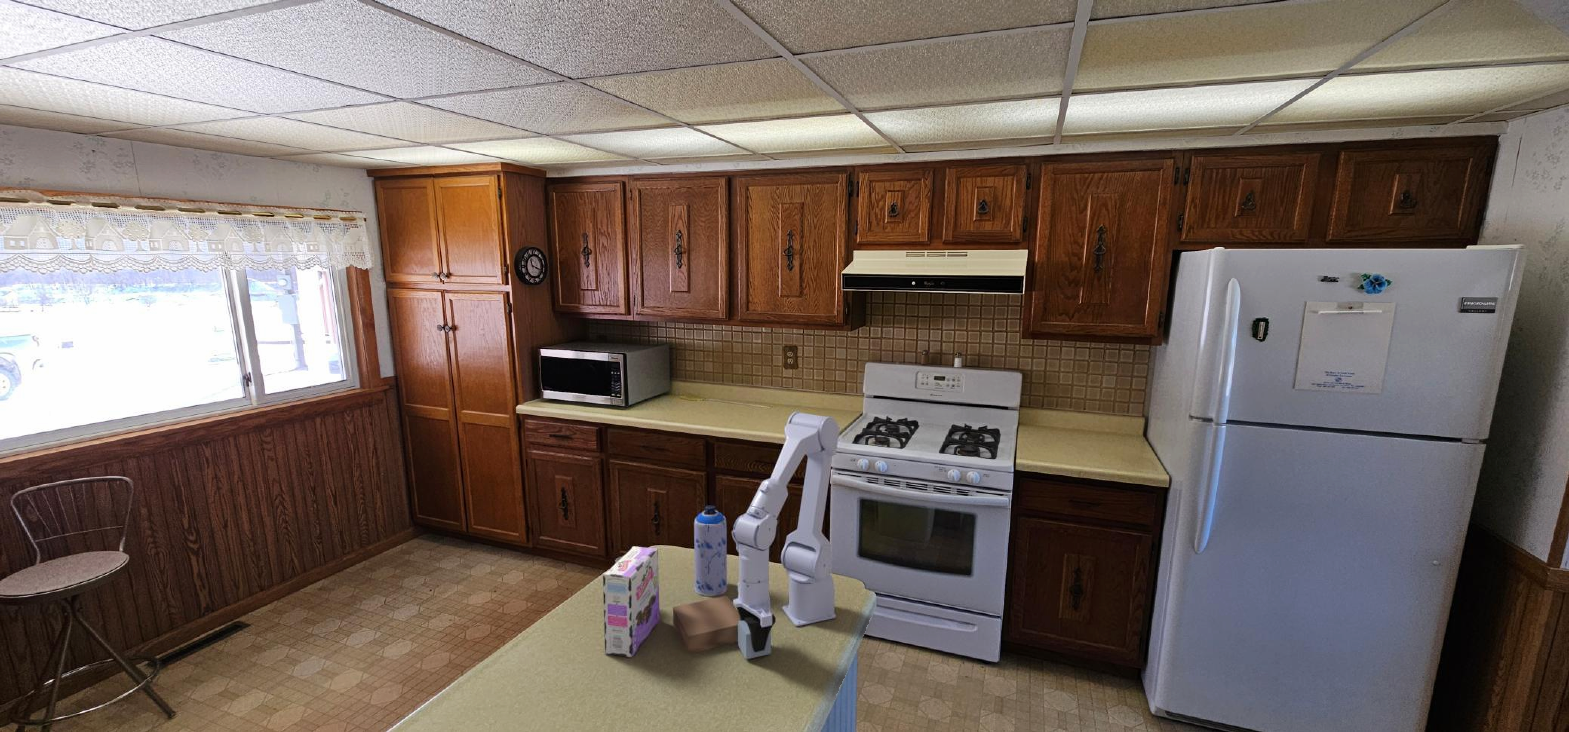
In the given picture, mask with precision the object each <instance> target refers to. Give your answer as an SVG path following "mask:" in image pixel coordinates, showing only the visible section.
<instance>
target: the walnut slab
mask: <svg viewBox="0 0 1569 732" xmlns="http://www.w3.org/2000/svg"><path fill="white" fill-rule="evenodd" d="M738 621H741V619H740V616H739V613H738V610H737V608H736V607H735V605H734V604H733V602H732V600H730V597H728V595H725V596H720V597H715V598H709V599H706V600H701V601H696V602H691V603H687V604H681V605H676V606H672V624H673V625H674V627H675V630H676V631H677V634H678V635H679V638H680V640H681V642H682V643H683V646H684V648H685V650H686V652H687V654H688V655H689V654H693V653H697V652H701V651H706V650H710V649H713V648H718V647H721V646H722V647H723V646H726V645H730V644H734V643H738Z"/></svg>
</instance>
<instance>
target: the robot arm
mask: <svg viewBox="0 0 1569 732" xmlns="http://www.w3.org/2000/svg"><path fill="white" fill-rule="evenodd" d="M839 435H840V426H839V425H838V422H837V420H836V419H835V417H833V416H824V415H819V414H811V413H804V412H800V411H794V412H793V413H791V414H790V416H789V417H788V419H787V422H786V425H785V426H784V437H785V441H784V444H783V447H782V449H781V451H780V453H779V456H778V459H777V461H776V463H775V467H774V469H773V471H772V473H771V475H770V478H767V479H764V480H763V481H761V483H760V485H759V487H758V489H757V491H756V493H755V495H754V497H753V499H752V501H751V503H750V505H749V507H748V508H747V510H746V513H744V514H741V515H740V516H738V517H737V519H736V520H735V522H734V524H733V530H732V531H731V536H732V539H733V542H735V547H736V551H737V552H738V582H737V592H738V595H737V598H734V599H733V602H732V604H733V605H734V606H735V608H736V609H737V611H738V613H739V616H740V619H741V621H742V620H745V621H746V623H747V625H748V627H749V630H750V634H751V641H752V647H753V650H754V652H759V651H763V650H765V647H766V643H767V639H768V635H769V632H770V630H771V631H772V628H773V627H774V625H775V623H776V621H777V620H776V616H775V615H774V614H773V613H771V597H770V585H769V584H770V574H769V573H770V572H769V571H770V566H769V565H770V562H769V561H770V558H769V557H770V556H769V555H770V546H771V545H772V543H773V542H774V540H775V537H776V533H777V525H778V520H777V519H778V517H779V514H780V512H781V511H782V508H783V506H784V504H785V502H786V499H787V498H788V496H789V492H788V488H787V485H788V483H789V482H790V480H791V478H792V477H793V475H794V474H795V472H796V470H797V468H798V467H799V465H800V463H801V461H802V460H803V458H804V457H805V456H807V461H806V462H807V463H806V469H805V476H804V482H803V483H804V484H803V488H802V494H801V495H802V496H801V500H800V501H801V503H800V510H799V514H798V515H799V516H798V521H797V522H798V523H797V529H795V530H794V531H792V532H791V533H789V534H788V535H786V539H785V544H784V547H783V549H782V551H781V553H780V554H781V555H780V561H781V565H782V568H784V569H785V570H786V573H785V574H786V575H788V577H789V578H788V584H789V585H788V605H783V606H782V607H781V609H782V610H783V613H785V614H786V616H787V617H788V618H789V619H790V621H791V622H792V623H793V625H794V626H795V627H800V626H803V625H804V626H805V625H809V624H814V623H818V622H823V621H826V620H831V619H836V617H837V615H836V614H835V595H836V594H835V590H836V589H835V588H836V587H835V583H834V578H833V577H832V575H831V573H830V571H831V568H832V557H831V556H832V554H831V552H832V543H831V542H830V541H829V539H827V538H826V536H825V535H824V534H823V532H822V530H823V522H824V517H825V511H826V504H827V503H826V502H827V496H828V490H829V489H828V488H829V482H830V477H831V476H830V474H831V469H832V463H833V456H835V455H836V454H837V449H838V442H839V437H840V436H839Z"/></svg>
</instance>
